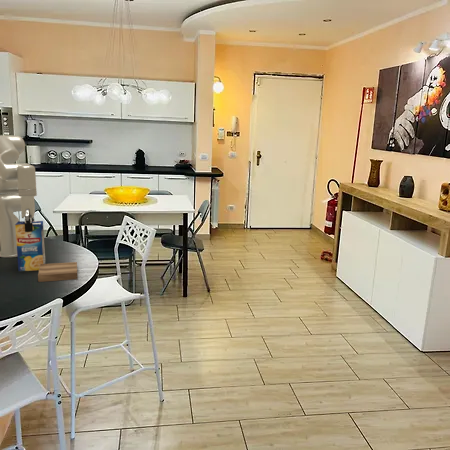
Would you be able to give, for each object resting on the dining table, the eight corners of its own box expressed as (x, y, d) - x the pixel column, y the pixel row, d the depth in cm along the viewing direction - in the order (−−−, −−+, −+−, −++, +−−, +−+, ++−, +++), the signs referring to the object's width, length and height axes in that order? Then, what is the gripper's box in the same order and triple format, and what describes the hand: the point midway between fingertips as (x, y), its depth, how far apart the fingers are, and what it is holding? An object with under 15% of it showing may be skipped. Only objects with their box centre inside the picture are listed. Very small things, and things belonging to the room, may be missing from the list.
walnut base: (40, 270, 204) (40, 264, 203) (77, 268, 209) (76, 262, 208) (38, 281, 189) (37, 275, 188) (77, 279, 194) (77, 272, 193)
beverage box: (43, 270, 204) (41, 224, 200) (18, 271, 202) (14, 224, 197) (45, 265, 211) (43, 220, 206) (21, 266, 208) (17, 221, 203)
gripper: (20, 190, 205) (23, 225, 209) (16, 195, 189) (18, 234, 193) (38, 189, 208) (40, 225, 211) (35, 195, 192) (37, 233, 195)
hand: (30, 229), depth 202 cm, fingers open, 9 cm apart
